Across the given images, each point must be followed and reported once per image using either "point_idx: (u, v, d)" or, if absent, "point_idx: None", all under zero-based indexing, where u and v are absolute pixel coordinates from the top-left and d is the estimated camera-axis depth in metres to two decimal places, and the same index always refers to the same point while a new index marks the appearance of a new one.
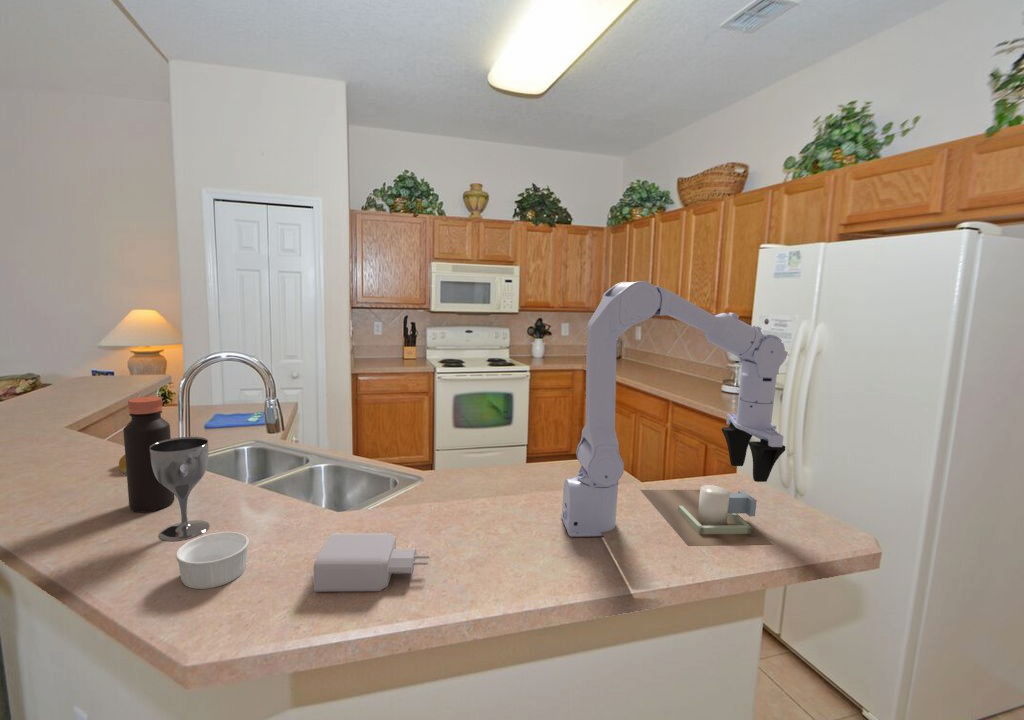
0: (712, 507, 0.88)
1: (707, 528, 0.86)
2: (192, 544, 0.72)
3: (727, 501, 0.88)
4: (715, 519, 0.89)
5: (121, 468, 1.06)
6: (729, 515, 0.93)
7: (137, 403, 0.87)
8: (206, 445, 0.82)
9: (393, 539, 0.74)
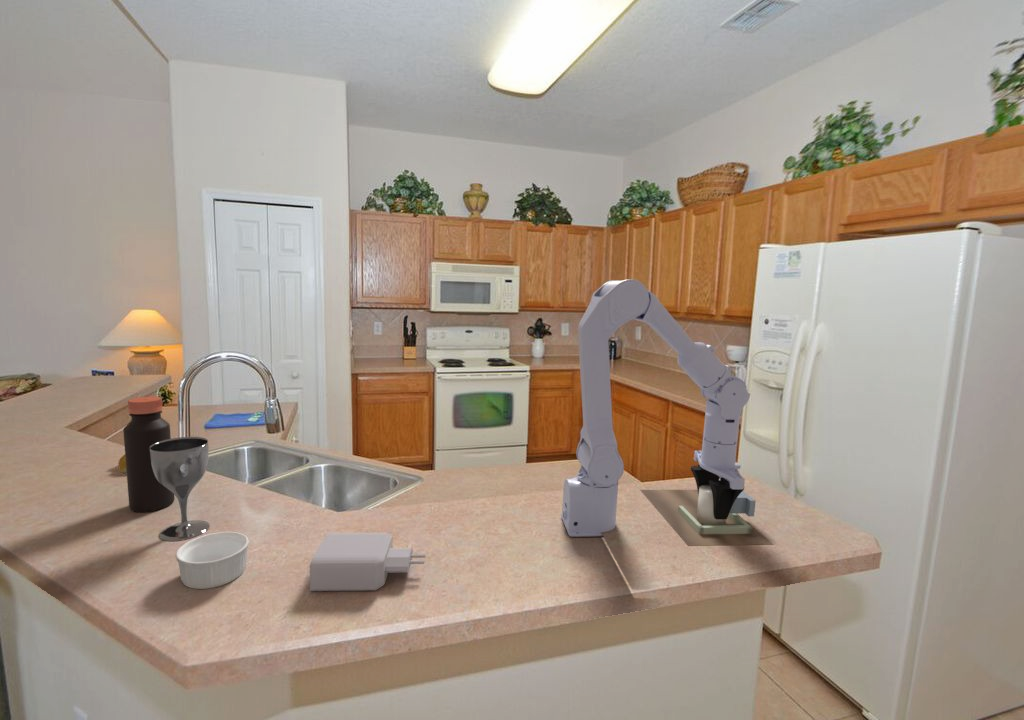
0: (711, 507, 0.88)
1: (707, 528, 0.86)
2: (192, 544, 0.72)
3: None
4: (713, 519, 0.89)
5: (121, 468, 1.06)
6: (729, 515, 0.93)
7: (137, 403, 0.87)
8: (206, 445, 0.82)
9: (389, 538, 0.74)
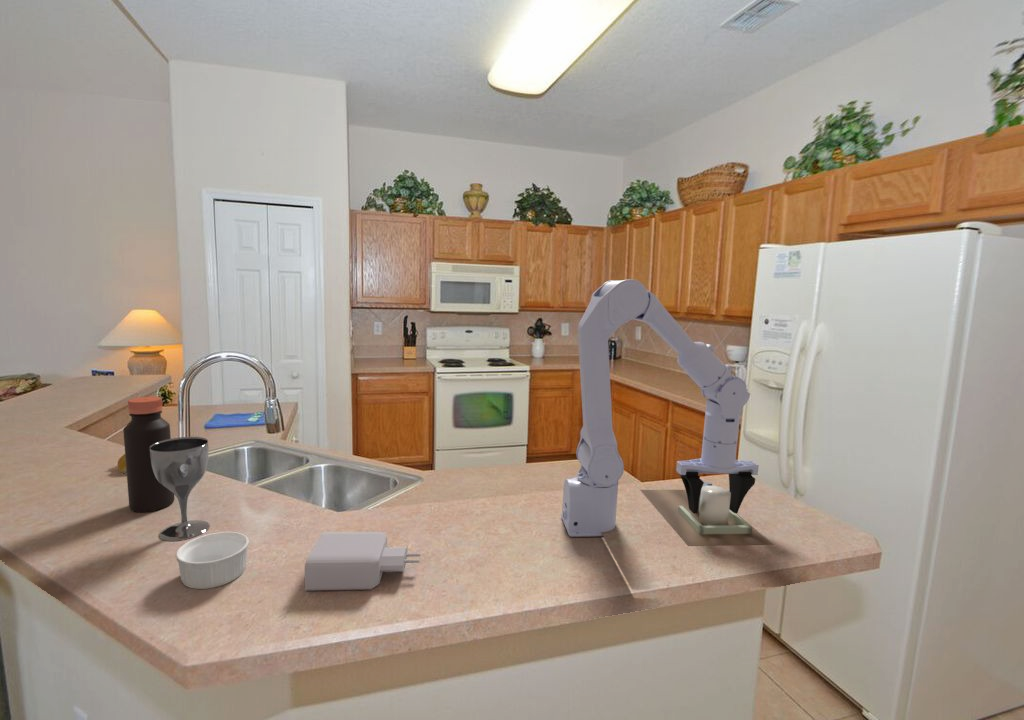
0: (729, 506, 0.89)
1: (707, 528, 0.86)
2: (192, 544, 0.72)
3: None
4: None
5: (120, 468, 1.06)
6: (729, 515, 0.93)
7: (137, 403, 0.87)
8: (206, 445, 0.82)
9: (384, 537, 0.75)
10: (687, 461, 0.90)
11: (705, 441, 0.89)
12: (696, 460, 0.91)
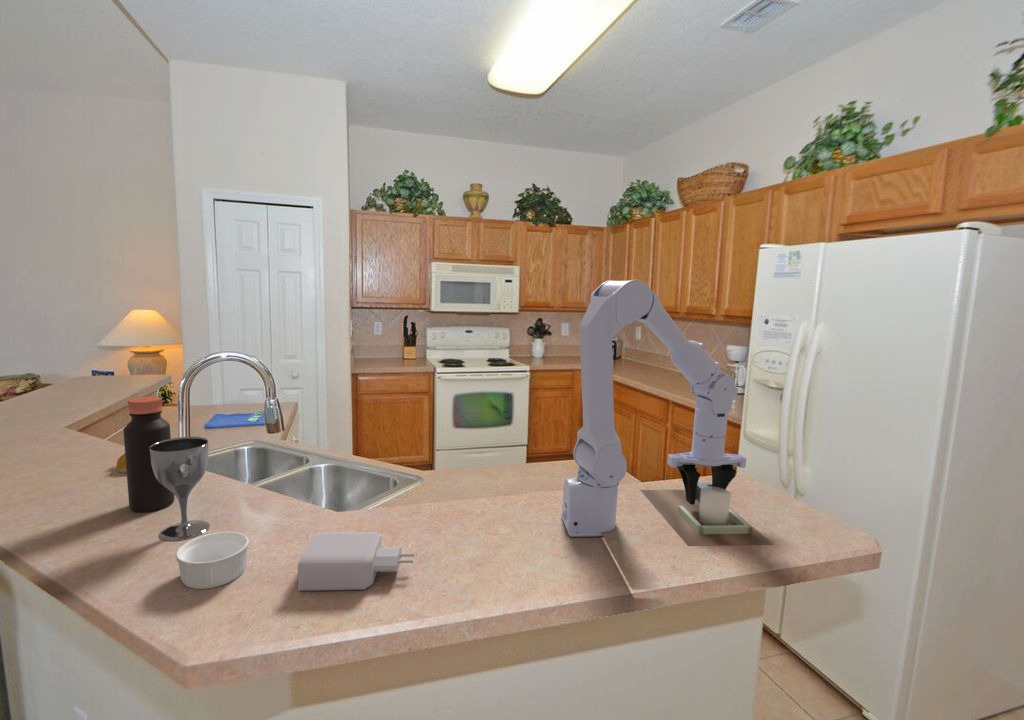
0: None
1: (707, 528, 0.86)
2: (192, 544, 0.72)
3: None
4: None
5: (119, 468, 1.05)
6: (729, 515, 0.93)
7: (137, 403, 0.87)
8: (206, 445, 0.82)
9: (378, 538, 0.74)
10: (678, 454, 0.94)
11: (695, 435, 0.93)
12: (686, 453, 0.95)
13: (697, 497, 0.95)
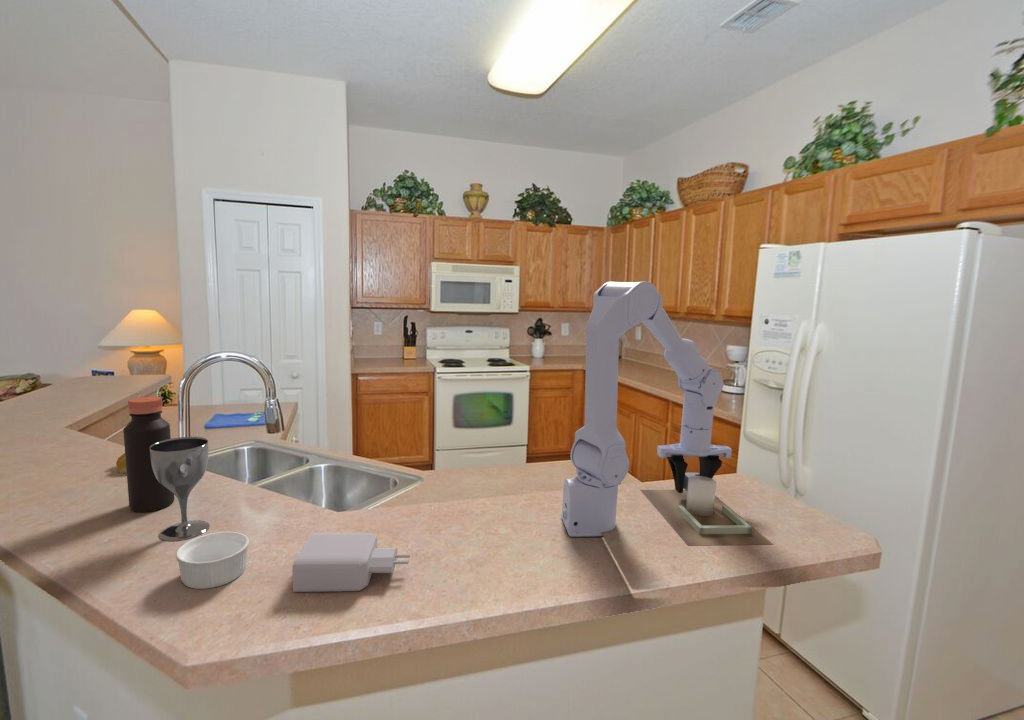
0: None
1: (707, 528, 0.86)
2: (192, 544, 0.72)
3: None
4: None
5: (119, 468, 1.05)
6: (729, 515, 0.93)
7: (137, 403, 0.87)
8: (206, 445, 0.82)
9: (374, 538, 0.74)
10: (667, 446, 0.99)
11: (683, 427, 0.98)
12: (675, 445, 1.00)
13: (685, 486, 1.00)
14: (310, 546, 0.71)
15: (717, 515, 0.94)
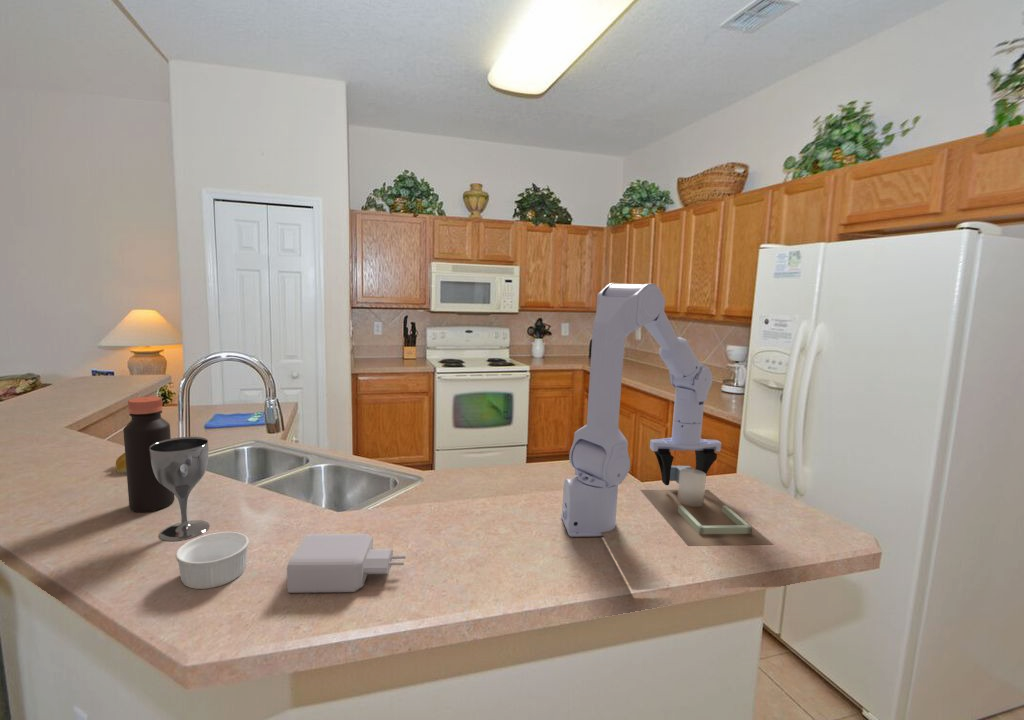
0: None
1: (707, 528, 0.86)
2: (192, 544, 0.72)
3: None
4: None
5: (118, 468, 1.05)
6: (729, 515, 0.93)
7: (137, 403, 0.87)
8: (206, 445, 0.82)
9: (369, 539, 0.74)
10: (659, 439, 1.03)
11: (674, 422, 1.02)
12: (667, 439, 1.04)
13: (677, 479, 1.04)
14: (305, 547, 0.70)
15: (717, 515, 0.94)
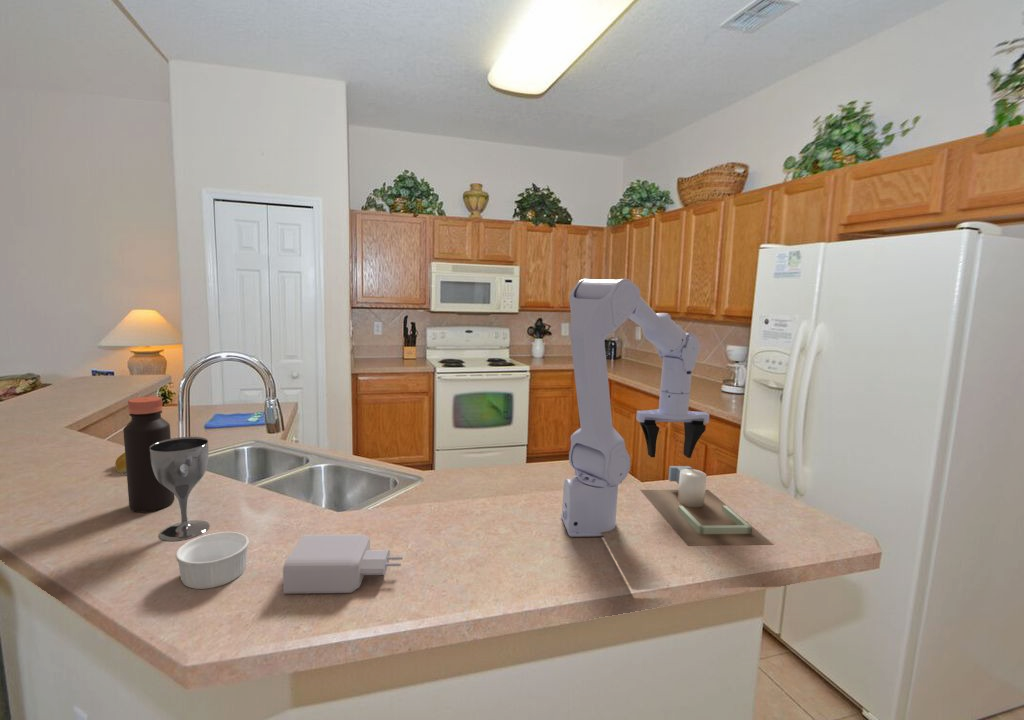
0: (705, 487, 0.98)
1: (707, 528, 0.86)
2: (192, 544, 0.72)
3: None
4: (704, 496, 0.99)
5: (118, 468, 1.05)
6: (729, 515, 0.93)
7: (137, 403, 0.87)
8: (206, 445, 0.82)
9: (366, 540, 0.74)
10: (646, 411, 1.01)
11: (661, 392, 1.00)
12: (654, 411, 1.02)
13: (677, 479, 1.04)
14: (302, 547, 0.70)
15: (717, 515, 0.94)
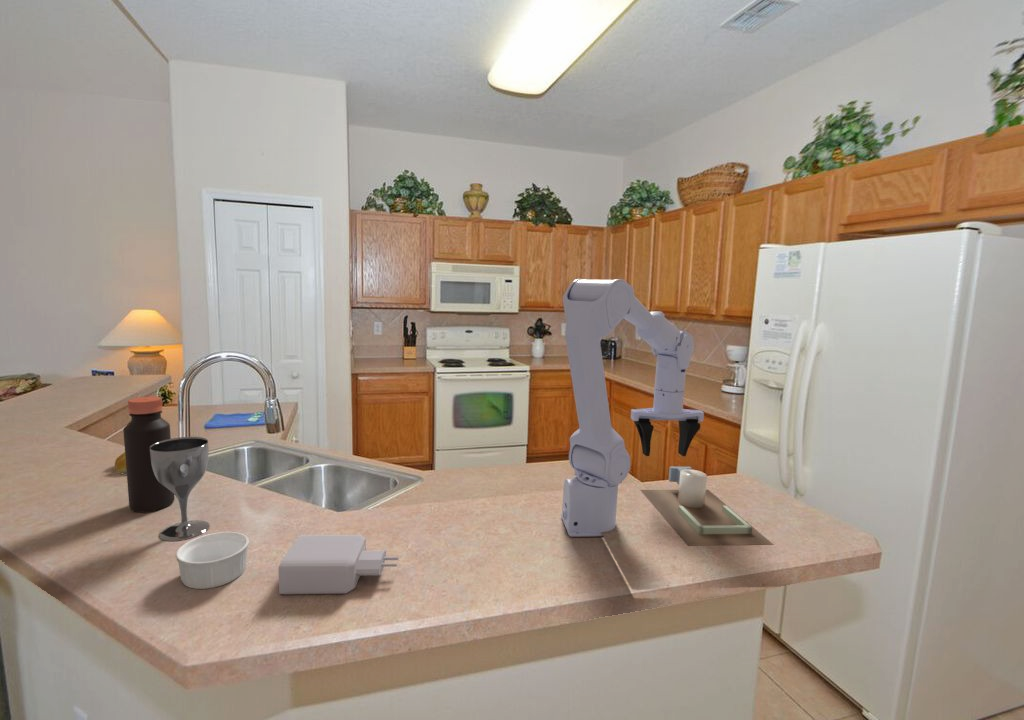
0: (705, 487, 0.98)
1: (707, 528, 0.86)
2: (192, 544, 0.72)
3: None
4: None
5: (117, 468, 1.05)
6: (729, 515, 0.93)
7: (137, 403, 0.87)
8: (206, 445, 0.82)
9: (362, 540, 0.73)
10: (640, 409, 1.01)
11: (656, 391, 0.99)
12: (649, 409, 1.02)
13: (677, 480, 1.04)
14: (297, 548, 0.70)
15: (717, 515, 0.94)
